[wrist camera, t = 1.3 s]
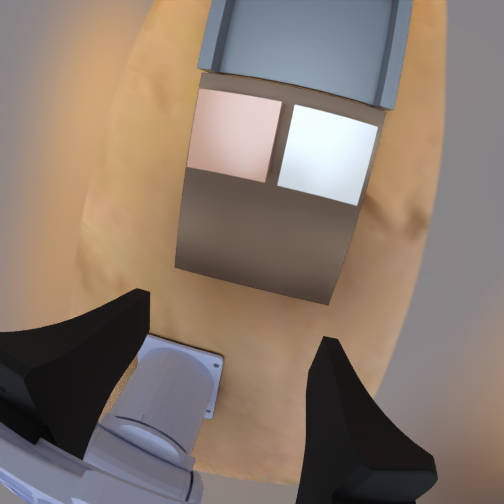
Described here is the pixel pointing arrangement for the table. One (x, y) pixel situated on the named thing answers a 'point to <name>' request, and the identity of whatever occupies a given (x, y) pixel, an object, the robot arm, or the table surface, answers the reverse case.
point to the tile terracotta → (234, 134)
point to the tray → (312, 44)
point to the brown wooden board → (269, 210)
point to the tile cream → (327, 155)
